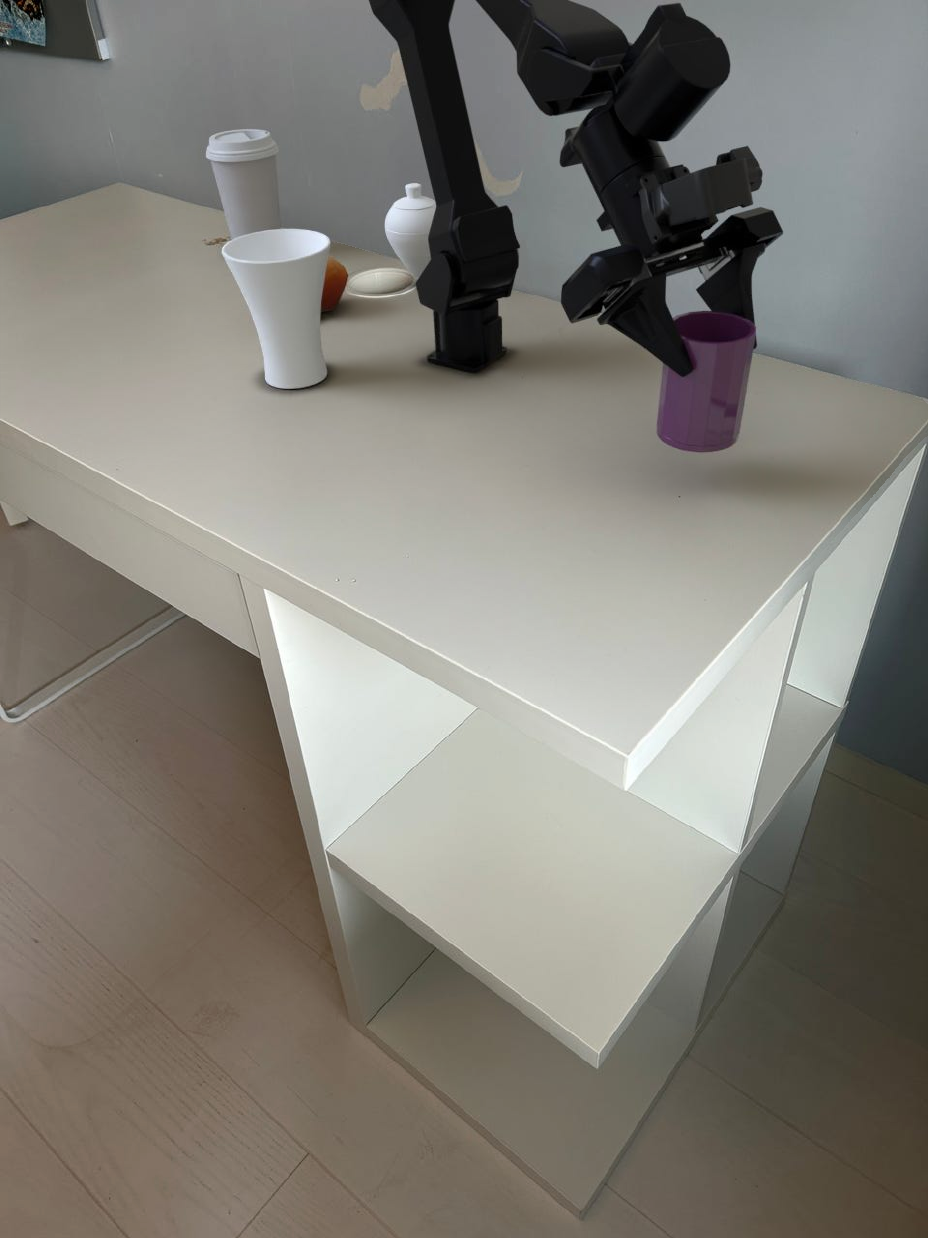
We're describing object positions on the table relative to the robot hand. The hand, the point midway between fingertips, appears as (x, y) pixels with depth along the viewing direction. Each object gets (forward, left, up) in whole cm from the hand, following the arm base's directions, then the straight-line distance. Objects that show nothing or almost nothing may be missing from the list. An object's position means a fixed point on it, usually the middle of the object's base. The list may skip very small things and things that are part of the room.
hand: (720, 362), depth 73 cm
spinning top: (-50, +29, -11) cm, 59 cm away
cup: (-45, 0, -11) cm, 47 cm away
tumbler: (-1, +1, -7) cm, 7 cm away
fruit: (-56, +16, -11) cm, 59 cm away
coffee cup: (-78, +29, -11) cm, 84 cm away
